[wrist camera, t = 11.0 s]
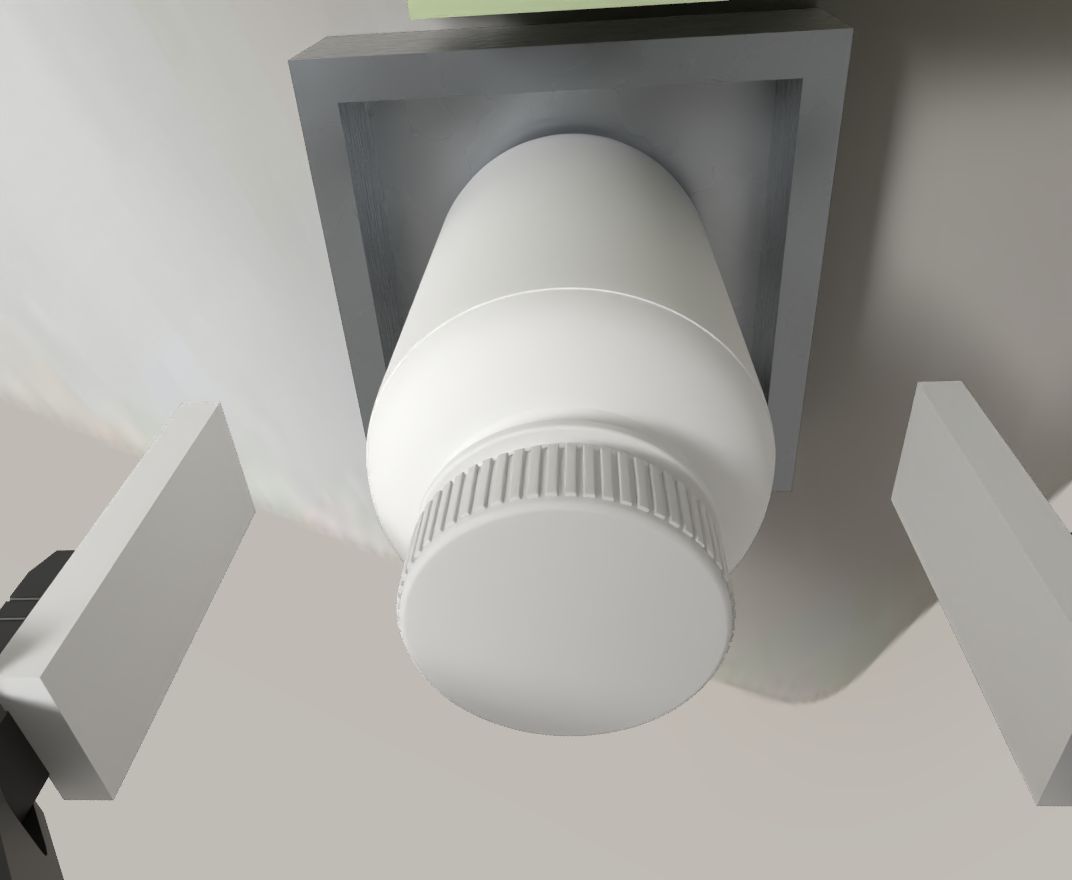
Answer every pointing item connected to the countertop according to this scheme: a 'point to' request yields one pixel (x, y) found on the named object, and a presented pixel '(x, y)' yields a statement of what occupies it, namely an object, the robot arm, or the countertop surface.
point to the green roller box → (517, 6)
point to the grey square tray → (596, 109)
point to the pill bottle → (570, 445)
